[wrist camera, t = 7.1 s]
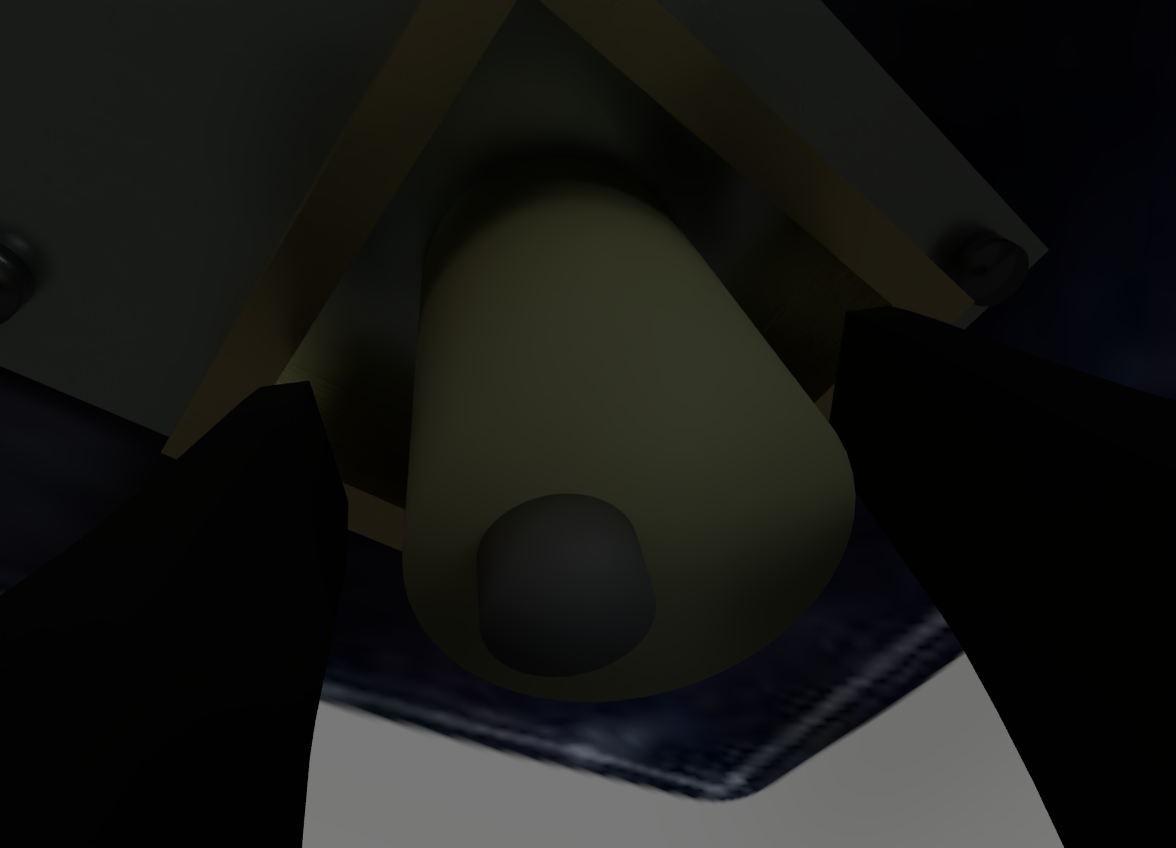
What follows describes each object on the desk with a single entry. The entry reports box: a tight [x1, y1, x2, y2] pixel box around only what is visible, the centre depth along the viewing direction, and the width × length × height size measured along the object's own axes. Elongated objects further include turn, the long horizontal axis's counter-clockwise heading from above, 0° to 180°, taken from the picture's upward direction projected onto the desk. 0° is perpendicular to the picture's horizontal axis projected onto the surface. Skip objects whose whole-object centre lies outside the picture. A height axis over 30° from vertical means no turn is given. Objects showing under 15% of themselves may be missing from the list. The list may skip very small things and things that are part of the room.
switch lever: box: [402, 157, 856, 702], centre depth 10 cm, size 5×5×7 cm
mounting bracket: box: [0, 0, 1048, 551], centre depth 12 cm, size 16×12×4 cm
